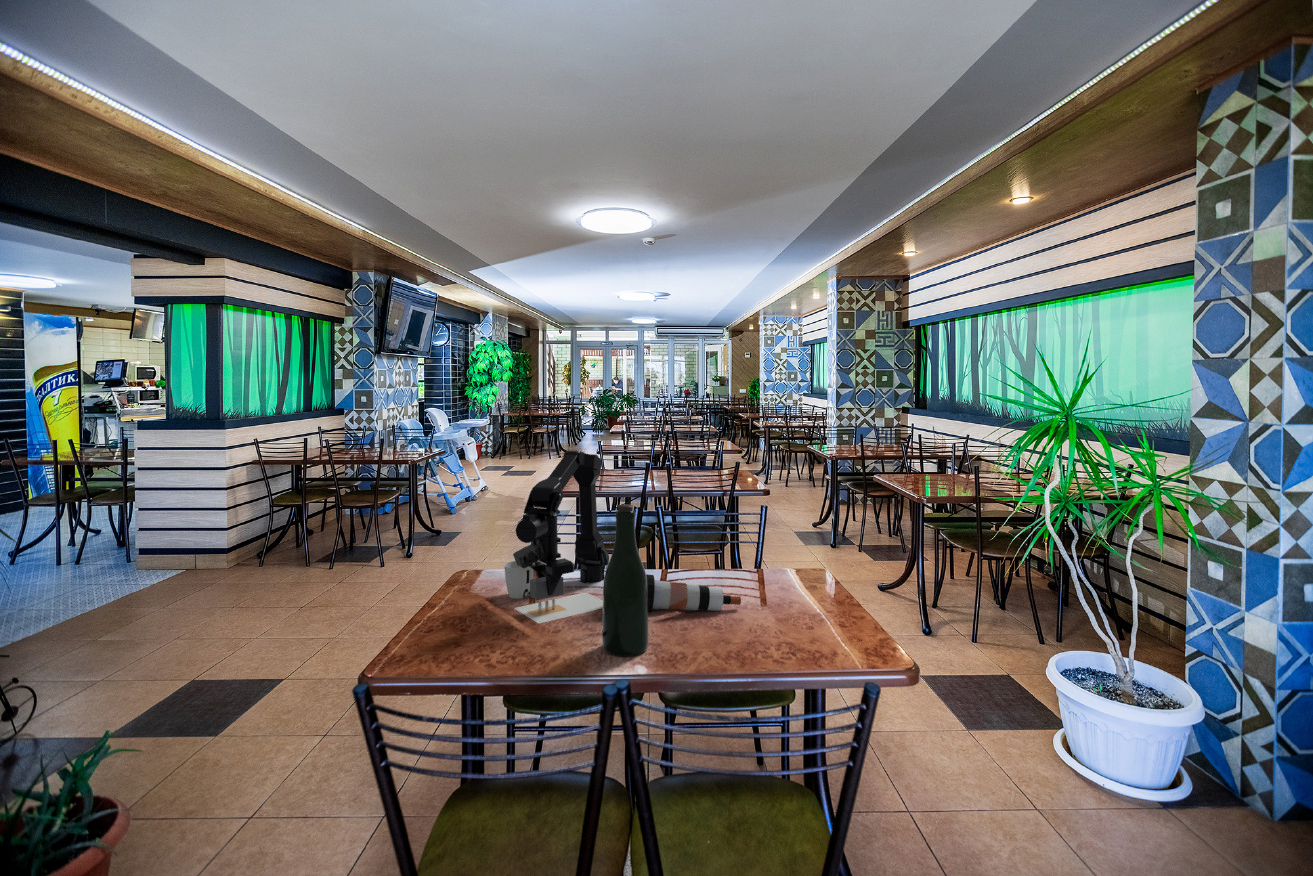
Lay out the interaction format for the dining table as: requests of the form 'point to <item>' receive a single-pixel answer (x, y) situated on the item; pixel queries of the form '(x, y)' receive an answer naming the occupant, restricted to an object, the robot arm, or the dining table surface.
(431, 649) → the dining table surface
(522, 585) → the cup
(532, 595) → the block
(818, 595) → the dining table surface
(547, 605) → the board
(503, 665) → the dining table surface
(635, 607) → the beer bottle
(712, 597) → the striped bottle lying down
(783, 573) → the dining table surface
